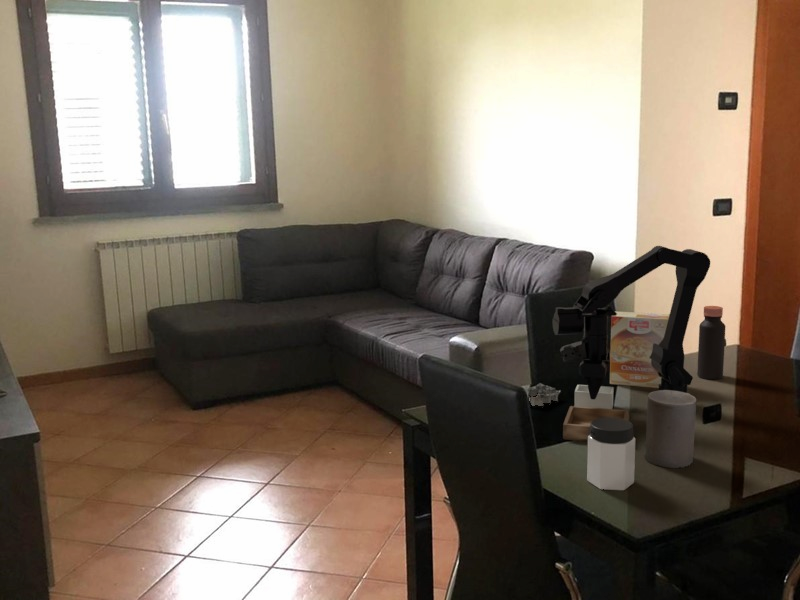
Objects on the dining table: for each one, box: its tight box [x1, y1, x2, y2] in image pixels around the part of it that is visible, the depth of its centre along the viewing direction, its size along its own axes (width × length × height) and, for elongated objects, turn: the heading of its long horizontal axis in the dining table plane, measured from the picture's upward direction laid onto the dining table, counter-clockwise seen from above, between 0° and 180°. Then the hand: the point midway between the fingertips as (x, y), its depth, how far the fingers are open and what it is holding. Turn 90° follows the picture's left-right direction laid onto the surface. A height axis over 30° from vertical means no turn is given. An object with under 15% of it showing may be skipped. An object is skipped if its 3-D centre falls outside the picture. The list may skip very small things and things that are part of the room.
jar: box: [586, 417, 636, 491], centre depth 155 cm, size 9×8×12 cm
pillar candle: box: [644, 390, 697, 469], centre depth 165 cm, size 10×10×15 cm
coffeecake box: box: [609, 310, 670, 389], centre depth 218 cm, size 15×7×20 cm, turn 67°
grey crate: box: [573, 384, 615, 409], centre depth 200 cm, size 9×6×5 cm, turn 72°
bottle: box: [696, 305, 726, 381], centre depth 223 cm, size 7×7×20 cm
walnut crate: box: [562, 405, 630, 442], centre depth 183 cm, size 14×14×4 cm
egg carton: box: [525, 382, 561, 407], centre depth 206 cm, size 11×8×4 cm
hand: (594, 393), depth 199 cm, fingers open, 9 cm apart
